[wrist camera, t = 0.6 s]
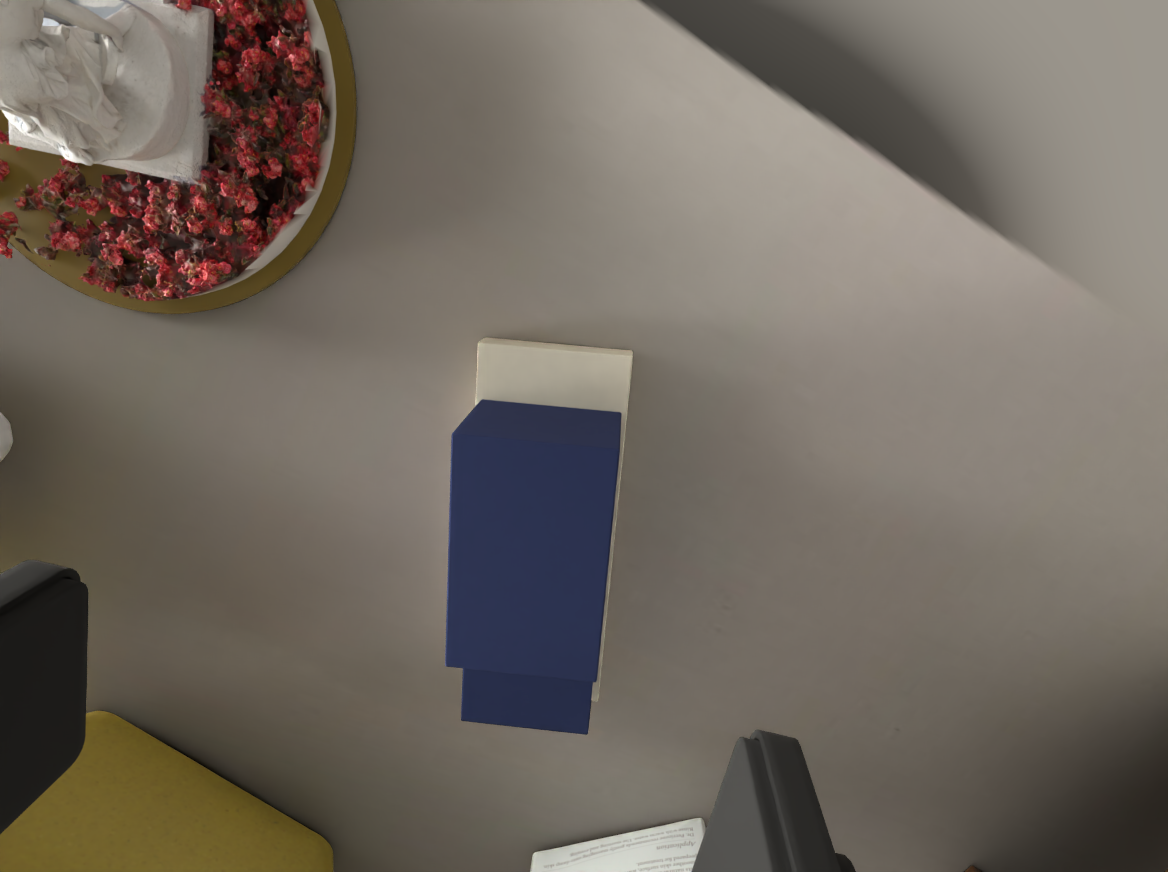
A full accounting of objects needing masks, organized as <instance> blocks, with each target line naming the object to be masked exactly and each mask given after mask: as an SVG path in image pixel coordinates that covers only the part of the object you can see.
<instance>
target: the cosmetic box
mask: <svg viewBox="0 0 1168 872" xmlns="http://www.w3.org/2000/svg"><path fill="white" fill-rule="evenodd" d="M705 831H706V827H705V824H704V821H703V819H702V818H695V819H690V820H685V821H681V822H676V823H672V824H668V825H663V826H658V827H654V828H649V829H644V830H639V831H634V832H630V833H625V834H620V835H615V836H611V837H606V838H601V839H597V840H592V841H587V842H582V843H578V844H573V845H569V846H564V847H560V848H555V849H550V850H544V851H539V852H535V853H534V854H533V857H532V863H531V871H530V872H691V871H692V868H693V865H694V863H695V860H696V857H697V854H698V851H699V848H700V845H701V842H702V840H703V837H704V834H705Z"/></svg>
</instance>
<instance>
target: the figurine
mask: <svg viewBox="0 0 1168 872" xmlns="http://www.w3.org/2000/svg"><path fill="white" fill-rule="evenodd" d="M356 116H357V115H356V88H355V77H354V70H353V63H352V57H351V53H350V48H349V44H348V39H347V36H346V32H345V29H344V26H343V22H342V19H341V16H340V13H339V11H338V8H337V5H336V3H335V0H0V244H1V245H0V254H2V255H5V256H6V258H9V259H10V258H12V255H11V254H12V249H9V248H8V247H7V245H8V242H9V243H10V244H11V245H12V246H14V247H15V248H16V249H17V250H18V251H19V252H20V253H21V254H23V255H24V256H25V257H26V258H27V259H29V260H30V261H31V262H33V263H34V264H35V265H36V266H38V267H39V268H40V269H42V270H43V271H45V272H46V273H48V274H49V275H51V276H52V277H54V278H55V279H57V280H59V281H60V282H62V283H64V284H66V285H67V286H69V287H71V288H73V289H75V290H77V291H79V292H81V293H83V294H85V295H88V296H90V297H93V298H95V299H97V300H100V301H103V302H106V303H109V304H112V305H115V306H119V307H123V308H127V309H131V310H137V311H142V312H150V313H161V314H182V313H195V312H201V311H207V310H212V309H216V308H220V307H224V306H228V305H231V304H234V303H237V302H239V301H242V300H244V299H246V298H249V297H251V296H253V295H255V294H257V293H259V292H261V291H262V290H264V289H266V288H268V287H269V286H271V285H272V284H274V283H275V282H276V281H278V280H279V279H281V278H282V277H283V276H284V275H286V274H287V273H288V272H289V271H290V270H292V269H293V268H294V267H295V266H296V265H297V264H298V263H299V262H300V261H301V260H302V259H303V258H304V257H305V255H306V254H307V253H308V252H309V251H310V249H311V248H312V247H313V246H314V244H315V243H316V242H317V240H318V239H319V237H320V236H321V234H322V233H323V231H324V230H325V228H326V226H327V225H328V223H329V221H330V219H331V218H332V215H333V213H334V211H335V209H336V207H337V205H338V203H339V200H340V198H341V195H342V192H343V190H344V187H345V183H346V180H347V177H348V173H349V170H350V165H351V160H352V155H353V149H354V142H355V133H356Z"/></svg>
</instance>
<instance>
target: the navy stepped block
mask: <svg viewBox="0 0 1168 872" xmlns="http://www.w3.org/2000/svg"><path fill="white" fill-rule="evenodd" d="M632 363H633V351H631V350H620V349H609V348H598V347H587V346H576V345H565V344H553V343H542V342H531V341H520V340H509V339H498V338H487V337H485V338H483V339H482V340H481V341H480V342H478V352H477V379H476V405H475V408H474V409H473V410H472V411H471V412H470V413H469V415H468V416H467V417H466V418H465V419H464V420H463V422H462V423H461V424H460V425H459V426H458V427H457V429H456V430H455V431H454V432H453V433H452V440H451V475H450V511H449V546H448V582H447V617H446V653H445V665H446V666H447V667H456V668H463V679H462V706H461V721H468V722H477V723H486V724H495V725H504V726H513V727H522V728H531V729H540V730H549V731H558V732H567V733H576V734H585V735H587V734H588V729H589V719H590V709H591V701H598V699H599V689H600V679H601V669H602V659H603V650H604V640H605V630H606V620H607V610H608V600H609V590H610V580H611V570H612V561H613V551H614V541H615V531H616V521H617V511H618V501H619V491H620V481H621V472H622V462H623V452H624V442H625V432H626V422H627V412H628V402H629V392H630V383H631V373H632Z"/></svg>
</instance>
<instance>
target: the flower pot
mask: <svg viewBox="0 0 1168 872" xmlns="http://www.w3.org/2000/svg"><path fill="white" fill-rule="evenodd" d="M0 872H333V850H332V848H331V846H330V844H329V843H328V842H327V841H326V840H325V839H324V838H323V837H322V836H321V835H319V834H317V833H315V832H314V831H312V830H310V829H308V828H307V827H305V826H303V825H302V824H300V823H298V822H297V821H295V820H293V819H291V818H290V817H288V816H286V815H285V814H283V813H281V812H280V811H278V810H276V809H274V808H273V807H271V806H269V805H268V804H266V803H264V802H263V801H261V800H259V799H257V798H256V797H254V796H252V795H251V794H249V793H247V792H246V791H244V790H242V789H240V788H239V787H237V786H235V785H234V784H232V783H230V782H228V781H227V780H225V779H223V778H222V777H220V776H218V775H217V774H215V773H213V772H212V771H210V770H208V769H207V768H205V767H203V766H202V765H200V764H198V763H197V762H195V761H193V760H191V759H190V758H188V757H186V756H185V755H183V754H181V753H180V752H178V751H176V750H175V749H173V748H171V747H169V746H168V745H166V744H164V743H163V742H161V741H159V740H157V739H156V738H154V737H152V736H151V735H149V734H147V733H146V732H144V731H142V730H141V729H139V728H137V727H135V726H134V725H132V724H130V723H129V722H127V721H125V720H124V719H122V718H120V717H118V716H116V715H115V714H113V713H109V712H105V711H93V712H90V713H87V714H86V736H85V742H84V745H83V748H82V750H81V752H80V754H79V756H78V758H77V759H76V761H75V762H74V763H73V764H72V766H71V767H70V768H69V769H68V770H67V771H66V772H65V773H64V774H63V775H62V776H61V777H59V778H58V779H57V780H56V781H55V782H54V783H53V784H52V785H51V786H50V787H49V788H48V789H47V790H46V791H45V792H44V793H43V794H42V795H41V796H40V797H39V798H38V799H37V800H36V801H35V802H34V803H32V804H31V805H30V806H29V807H28V808H27V809H26V810H25V811H24V812H23V813H22V814H21V815H20V816H19V817H18V818H17V819H16V820H15V821H14V822H13V823H12V824H11V825H10V826H9V827H8V828H6V829H5V830H4V831H3V832H2V833H1V834H0Z"/></svg>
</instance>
